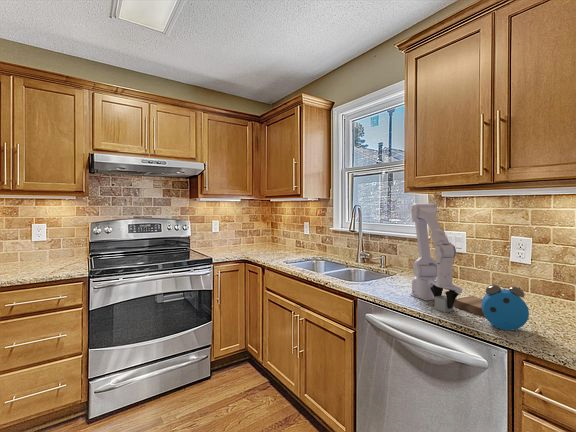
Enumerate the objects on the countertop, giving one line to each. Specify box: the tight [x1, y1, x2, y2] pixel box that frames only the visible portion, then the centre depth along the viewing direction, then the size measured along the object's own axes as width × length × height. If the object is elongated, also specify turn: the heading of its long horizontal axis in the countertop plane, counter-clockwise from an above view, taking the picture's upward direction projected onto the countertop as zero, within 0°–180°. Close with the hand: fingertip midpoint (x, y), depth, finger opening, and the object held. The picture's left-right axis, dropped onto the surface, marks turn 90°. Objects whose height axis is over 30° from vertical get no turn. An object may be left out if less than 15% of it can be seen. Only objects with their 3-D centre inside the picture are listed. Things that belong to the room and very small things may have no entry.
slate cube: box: [434, 294, 455, 313], centre depth 128 cm, size 5×5×5 cm
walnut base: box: [454, 295, 485, 316], centre depth 129 cm, size 12×12×3 cm
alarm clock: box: [481, 284, 530, 331], centre depth 109 cm, size 13×6×15 cm, turn 66°
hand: (444, 306), depth 128 cm, fingers closed on slate cube, 5 cm apart
